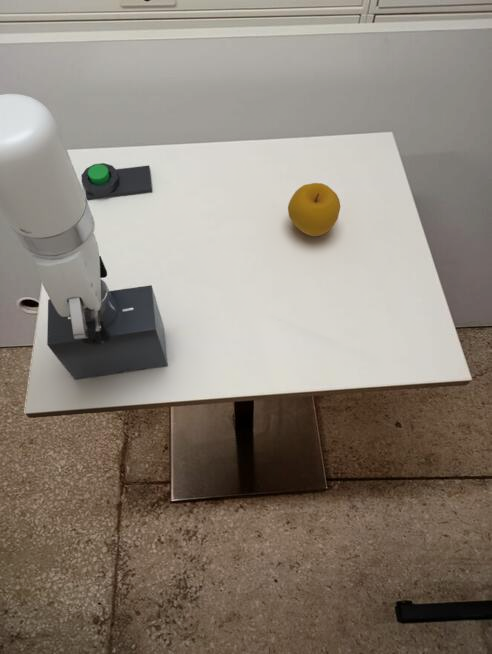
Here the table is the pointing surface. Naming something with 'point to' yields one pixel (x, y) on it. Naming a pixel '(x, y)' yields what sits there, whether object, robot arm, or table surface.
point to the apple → (314, 209)
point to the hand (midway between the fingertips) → (96, 307)
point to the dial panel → (113, 338)
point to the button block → (119, 182)
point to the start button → (98, 174)
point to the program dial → (104, 307)
